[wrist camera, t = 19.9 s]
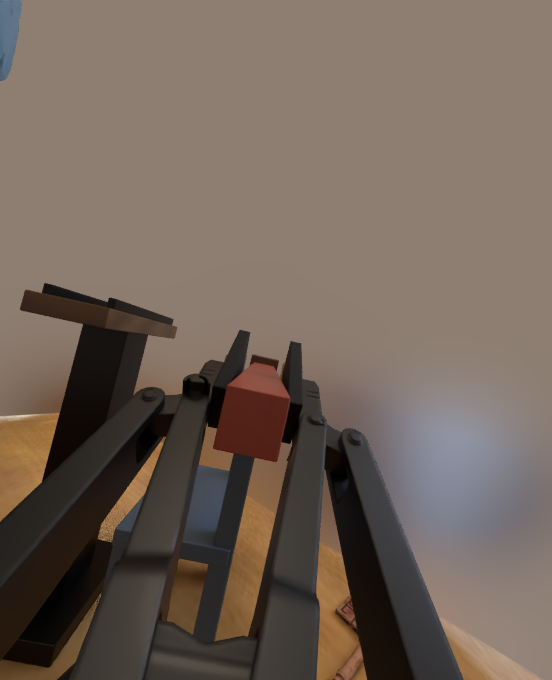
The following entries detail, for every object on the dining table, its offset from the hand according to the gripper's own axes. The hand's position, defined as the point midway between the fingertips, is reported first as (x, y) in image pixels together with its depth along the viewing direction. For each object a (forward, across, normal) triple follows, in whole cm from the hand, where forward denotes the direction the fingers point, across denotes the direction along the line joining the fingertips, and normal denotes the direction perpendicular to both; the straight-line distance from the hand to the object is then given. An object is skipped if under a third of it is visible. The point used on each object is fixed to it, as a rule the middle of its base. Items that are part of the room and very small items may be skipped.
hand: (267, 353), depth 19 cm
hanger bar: (+1, 0, -5) cm, 5 cm away
